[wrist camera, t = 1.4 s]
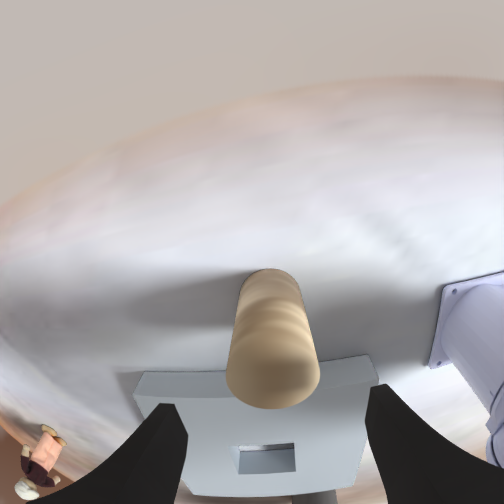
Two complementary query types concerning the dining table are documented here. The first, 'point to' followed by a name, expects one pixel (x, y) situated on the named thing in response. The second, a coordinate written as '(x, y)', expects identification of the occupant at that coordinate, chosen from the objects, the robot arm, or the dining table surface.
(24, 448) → the grandmother figurine
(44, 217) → the dining table surface
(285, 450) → the socket block
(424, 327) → the dining table surface
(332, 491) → the bottle
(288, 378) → the peg
